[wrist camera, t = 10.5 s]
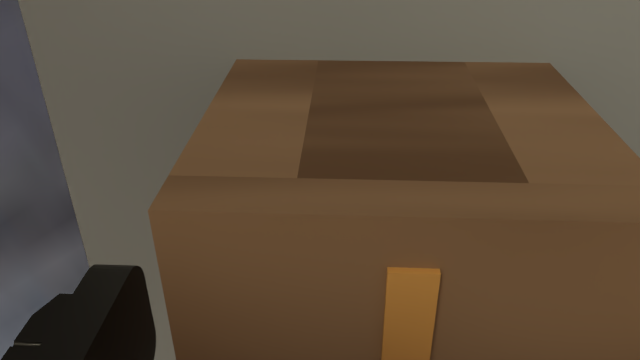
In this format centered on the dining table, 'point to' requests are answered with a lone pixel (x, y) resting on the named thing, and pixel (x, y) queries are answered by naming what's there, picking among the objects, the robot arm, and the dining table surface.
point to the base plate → (272, 44)
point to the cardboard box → (400, 217)
